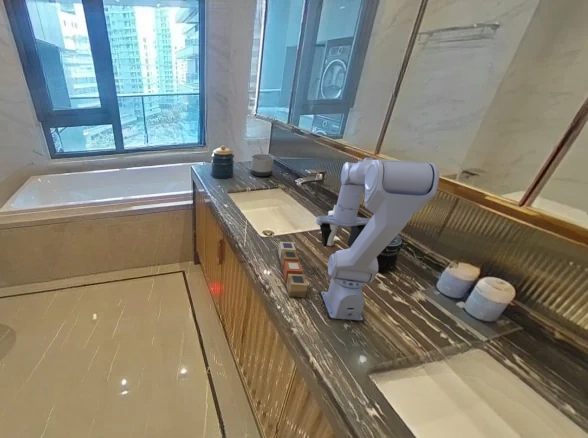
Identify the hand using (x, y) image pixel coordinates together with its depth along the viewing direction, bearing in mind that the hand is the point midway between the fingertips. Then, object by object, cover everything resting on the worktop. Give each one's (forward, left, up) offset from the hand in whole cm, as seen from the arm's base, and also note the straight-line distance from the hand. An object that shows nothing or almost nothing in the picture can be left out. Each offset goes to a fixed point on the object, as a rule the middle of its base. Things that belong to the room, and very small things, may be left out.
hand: (337, 245), depth 86 cm
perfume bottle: (+16, -4, -10) cm, 19 cm away
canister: (+86, +37, -10) cm, 94 cm away
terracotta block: (-5, +13, -9) cm, 17 cm away
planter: (+89, +14, -10) cm, 91 cm away
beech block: (+1, +13, -9) cm, 16 cm away
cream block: (+6, +13, -9) cm, 17 cm away
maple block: (-11, +13, -9) cm, 19 cm away
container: (+6, -15, -10) cm, 19 cm away
